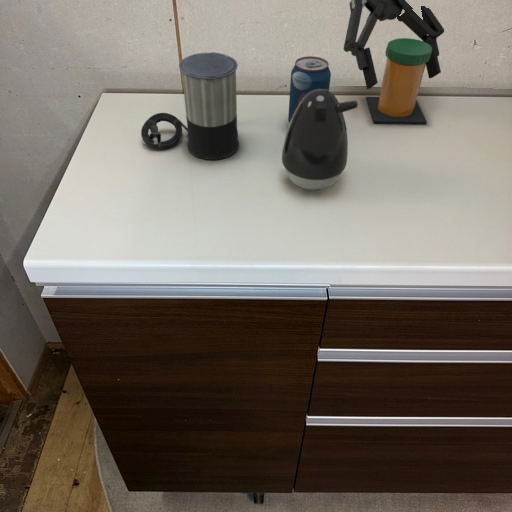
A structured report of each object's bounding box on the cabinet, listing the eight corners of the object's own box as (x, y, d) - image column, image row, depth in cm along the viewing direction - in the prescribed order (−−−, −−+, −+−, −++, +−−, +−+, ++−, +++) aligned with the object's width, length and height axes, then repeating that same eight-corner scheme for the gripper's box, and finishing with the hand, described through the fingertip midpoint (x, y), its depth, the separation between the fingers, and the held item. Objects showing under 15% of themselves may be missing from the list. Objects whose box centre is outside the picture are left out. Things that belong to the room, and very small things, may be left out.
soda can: (300, 139, 86) (306, 74, 77) (280, 122, 90) (284, 59, 82) (331, 129, 88) (340, 66, 80) (311, 114, 92) (317, 52, 84)
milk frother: (248, 153, 82) (247, 69, 72) (161, 176, 77) (147, 89, 67) (216, 116, 91) (212, 37, 81) (137, 135, 86) (121, 53, 76)
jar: (401, 97, 96) (414, 39, 88) (420, 113, 92) (437, 54, 83) (370, 103, 95) (382, 44, 86) (389, 119, 90) (402, 59, 82)
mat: (414, 99, 97) (415, 97, 96) (426, 124, 90) (426, 121, 89) (366, 99, 97) (366, 96, 97) (373, 123, 90) (374, 120, 90)
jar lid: (413, 45, 89) (416, 35, 88) (438, 62, 84) (441, 51, 83) (377, 51, 88) (379, 41, 86) (400, 68, 82) (402, 57, 81)
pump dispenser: (338, 204, 73) (353, 113, 62) (273, 192, 75) (277, 102, 64) (349, 168, 79) (364, 80, 69) (289, 157, 82) (294, 71, 71)
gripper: (423, -26, 94) (447, 78, 95) (310, -14, 88) (336, 97, 89) (447, -50, 87) (473, 63, 88) (325, -39, 81) (354, 82, 82)
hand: (404, 80), depth 88 cm, fingers open, 13 cm apart
